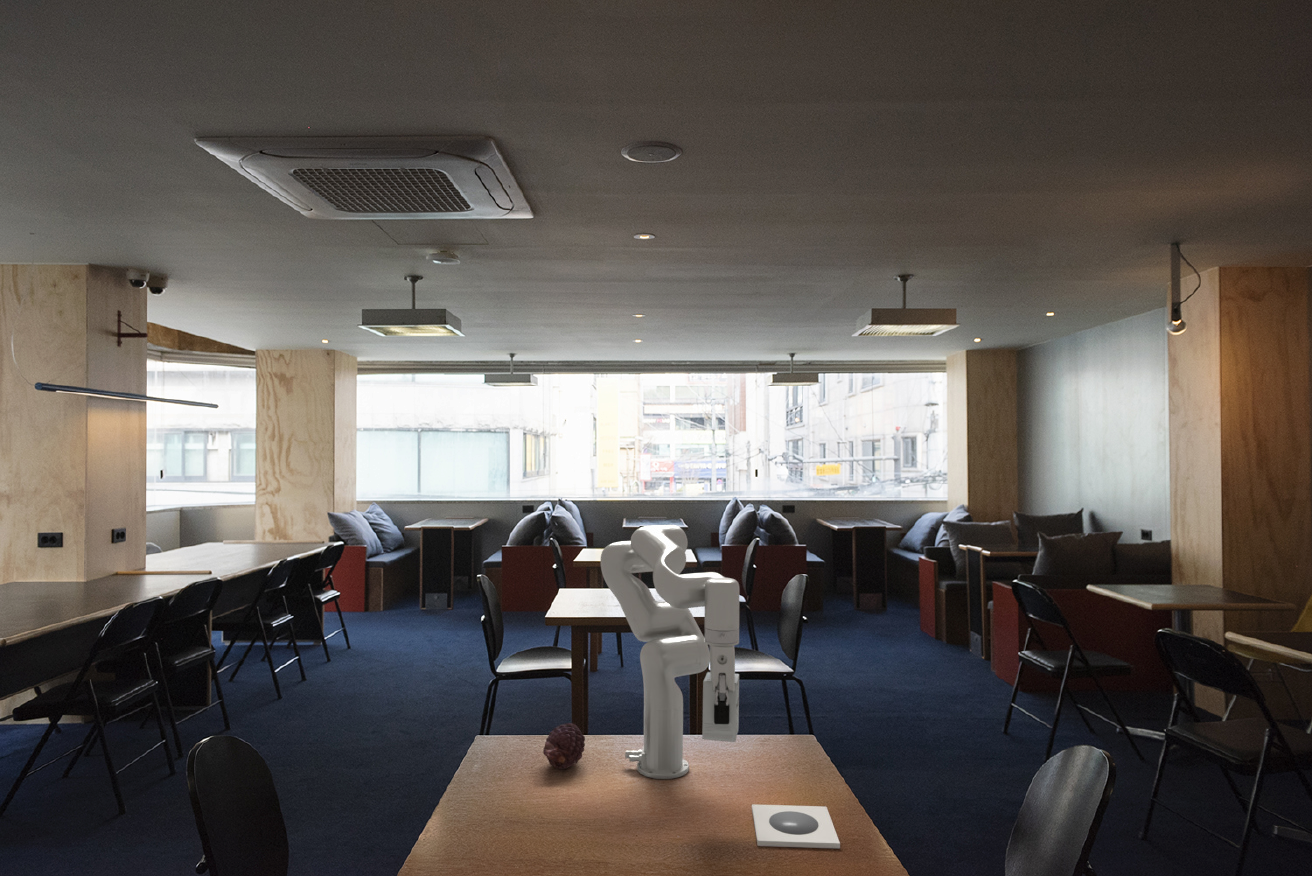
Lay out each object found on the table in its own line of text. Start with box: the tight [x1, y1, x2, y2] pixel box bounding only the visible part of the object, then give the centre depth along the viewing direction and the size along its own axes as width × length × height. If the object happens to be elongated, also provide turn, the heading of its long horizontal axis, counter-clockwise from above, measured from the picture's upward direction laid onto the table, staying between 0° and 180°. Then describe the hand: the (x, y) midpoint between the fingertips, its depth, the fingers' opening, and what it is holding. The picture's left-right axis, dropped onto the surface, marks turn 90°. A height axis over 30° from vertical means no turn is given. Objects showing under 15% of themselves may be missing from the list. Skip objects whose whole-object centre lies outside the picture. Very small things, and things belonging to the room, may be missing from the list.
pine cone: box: [542, 722, 586, 770], centre depth 195 cm, size 18×10×10 cm, turn 171°
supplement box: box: [701, 671, 740, 743], centre depth 173 cm, size 7×7×13 cm
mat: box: [751, 803, 841, 849], centre depth 164 cm, size 16×16×1 cm
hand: (721, 716), depth 172 cm, fingers closed on supplement box, 7 cm apart
